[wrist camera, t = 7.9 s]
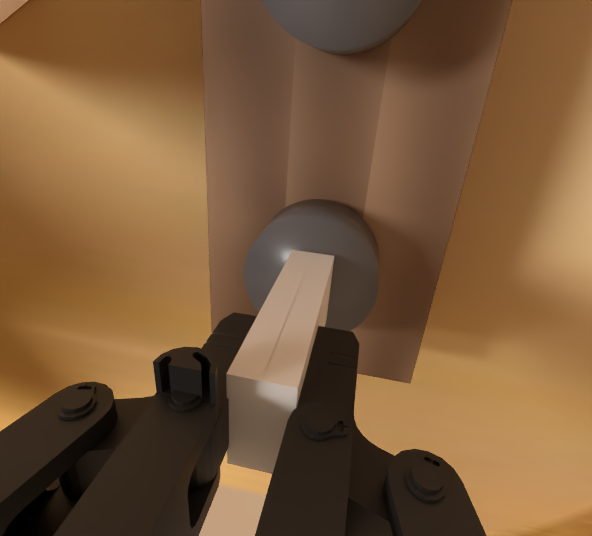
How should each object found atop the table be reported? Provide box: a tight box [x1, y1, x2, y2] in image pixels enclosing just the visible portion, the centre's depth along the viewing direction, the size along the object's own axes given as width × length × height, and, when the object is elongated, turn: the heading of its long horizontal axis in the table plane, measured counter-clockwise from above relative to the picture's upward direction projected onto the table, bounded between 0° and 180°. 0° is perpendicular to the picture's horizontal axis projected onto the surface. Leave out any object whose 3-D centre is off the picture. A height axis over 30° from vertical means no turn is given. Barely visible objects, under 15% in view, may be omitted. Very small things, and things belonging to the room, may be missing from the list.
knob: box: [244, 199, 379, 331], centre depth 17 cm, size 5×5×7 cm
